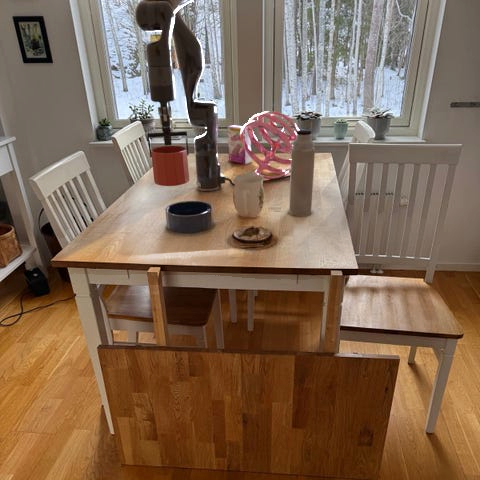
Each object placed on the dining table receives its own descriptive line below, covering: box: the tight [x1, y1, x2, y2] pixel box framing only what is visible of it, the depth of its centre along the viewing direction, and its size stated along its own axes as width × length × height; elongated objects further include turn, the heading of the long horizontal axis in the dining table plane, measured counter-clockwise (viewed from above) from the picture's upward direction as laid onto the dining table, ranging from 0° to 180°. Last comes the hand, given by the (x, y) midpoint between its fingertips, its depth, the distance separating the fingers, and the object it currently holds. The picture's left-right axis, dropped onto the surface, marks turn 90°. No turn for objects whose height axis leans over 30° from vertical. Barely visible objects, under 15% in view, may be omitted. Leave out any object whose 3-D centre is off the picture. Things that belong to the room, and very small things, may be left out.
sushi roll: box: [231, 225, 277, 251], centre depth 149 cm, size 15×15×4 cm
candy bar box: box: [227, 124, 252, 165], centre depth 229 cm, size 11×5×16 cm, turn 49°
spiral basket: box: [240, 110, 300, 180], centre depth 204 cm, size 28×28×27 cm
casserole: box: [164, 200, 214, 235], centre depth 159 cm, size 16×16×6 cm
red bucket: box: [146, 130, 190, 187], centre depth 150 cm, size 11×12×15 cm
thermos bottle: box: [288, 129, 316, 217], centre depth 163 cm, size 8×8×28 cm
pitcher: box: [232, 170, 265, 219], centre depth 165 cm, size 11×18×14 cm, turn 170°
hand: (168, 144), depth 148 cm, fingers closed on red bucket, 1 cm apart
